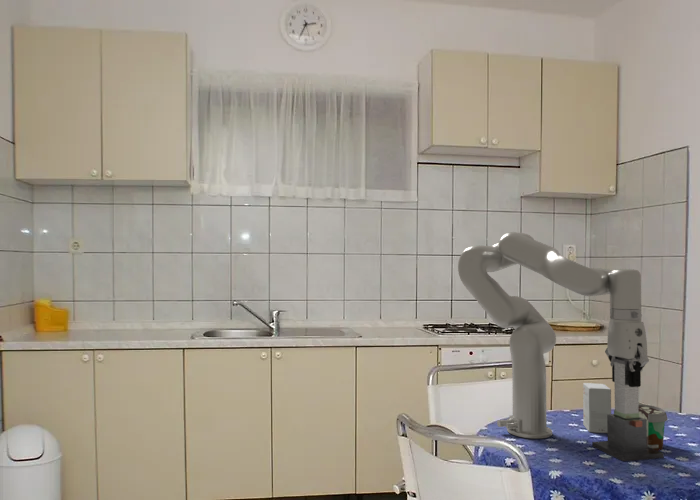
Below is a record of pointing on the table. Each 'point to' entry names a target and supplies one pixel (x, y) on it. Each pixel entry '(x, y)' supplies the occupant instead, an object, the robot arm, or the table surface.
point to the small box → (596, 407)
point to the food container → (653, 424)
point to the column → (624, 391)
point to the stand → (627, 440)
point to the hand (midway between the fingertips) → (626, 383)
